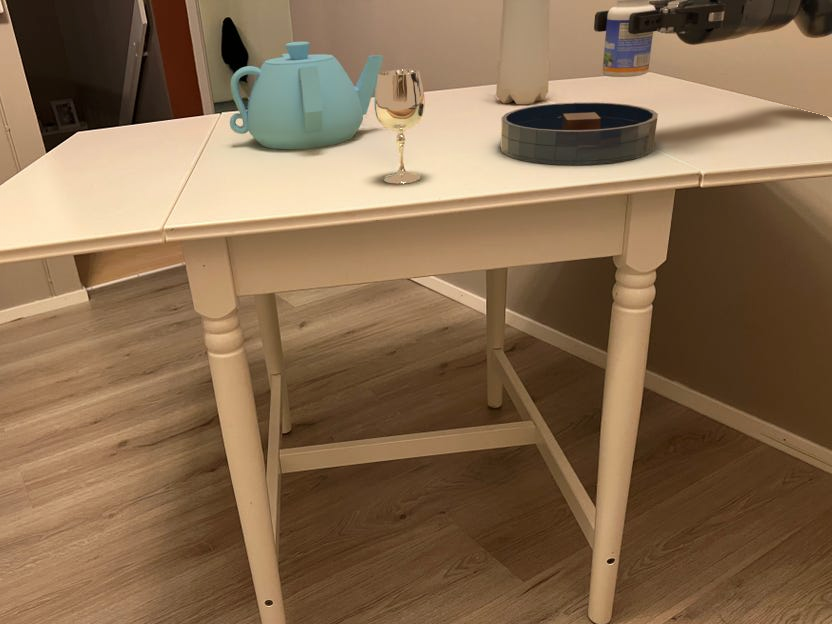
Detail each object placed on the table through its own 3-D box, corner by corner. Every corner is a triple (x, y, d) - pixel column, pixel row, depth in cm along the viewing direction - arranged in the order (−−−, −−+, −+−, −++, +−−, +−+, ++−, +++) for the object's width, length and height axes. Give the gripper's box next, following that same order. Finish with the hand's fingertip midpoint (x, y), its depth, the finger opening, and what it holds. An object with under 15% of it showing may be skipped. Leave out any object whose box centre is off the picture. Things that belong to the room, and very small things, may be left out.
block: (592, 144, 92) (595, 112, 90) (597, 151, 88) (600, 118, 86) (560, 145, 92) (562, 113, 90) (564, 152, 89) (567, 119, 87)
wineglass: (433, 180, 83) (431, 72, 78) (387, 187, 82) (382, 77, 76) (415, 170, 88) (413, 67, 82) (372, 176, 87) (366, 72, 81)
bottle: (527, 107, 120) (538, -103, 106) (485, 103, 126) (489, -96, 112) (558, 98, 125) (572, -102, 111) (515, 95, 131) (523, -96, 117)
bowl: (635, 128, 100) (638, 99, 98) (670, 161, 83) (675, 127, 82) (497, 134, 103) (498, 106, 101) (505, 167, 86) (506, 134, 84)
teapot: (314, 156, 98) (305, 48, 92) (217, 147, 109) (202, 50, 102) (389, 129, 112) (385, 34, 105) (297, 123, 122) (288, 36, 116)
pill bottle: (600, 72, 90) (607, -14, 85) (645, 69, 89) (654, -18, 84) (604, 78, 86) (611, -12, 81) (651, 76, 84) (662, -16, 80)
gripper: (683, -25, 93) (576, -13, 88) (779, -27, 81) (662, -14, 76) (674, 38, 96) (572, 53, 91) (765, 44, 84) (653, 62, 79)
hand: (613, 22), depth 84 cm, fingers closed on pill bottle, 5 cm apart
